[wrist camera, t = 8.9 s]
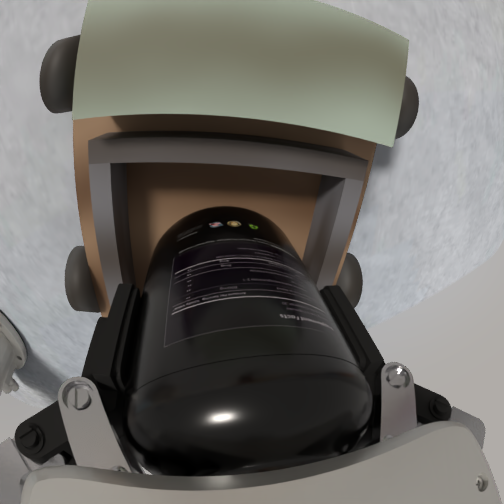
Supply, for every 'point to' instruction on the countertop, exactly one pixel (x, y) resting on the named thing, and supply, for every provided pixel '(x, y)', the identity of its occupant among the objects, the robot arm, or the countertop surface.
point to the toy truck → (223, 127)
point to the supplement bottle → (237, 356)
